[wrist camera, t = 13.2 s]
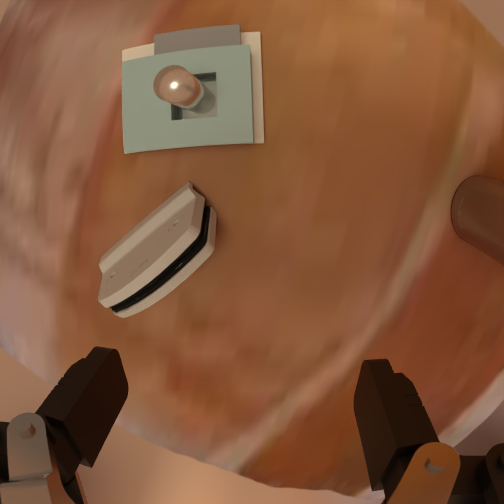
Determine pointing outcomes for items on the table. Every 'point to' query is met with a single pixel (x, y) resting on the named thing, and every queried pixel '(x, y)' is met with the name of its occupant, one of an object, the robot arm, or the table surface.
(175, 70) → the pin
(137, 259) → the white black beveled block
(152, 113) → the square frame block
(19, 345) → the table surface
